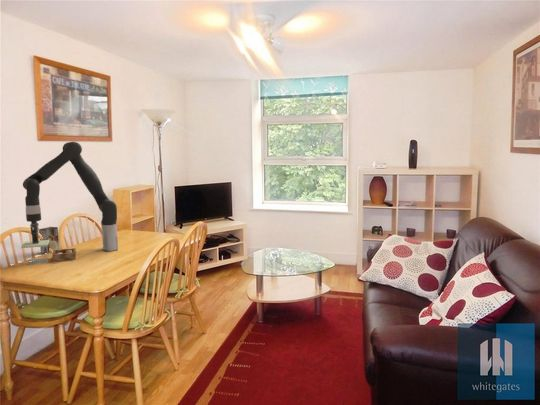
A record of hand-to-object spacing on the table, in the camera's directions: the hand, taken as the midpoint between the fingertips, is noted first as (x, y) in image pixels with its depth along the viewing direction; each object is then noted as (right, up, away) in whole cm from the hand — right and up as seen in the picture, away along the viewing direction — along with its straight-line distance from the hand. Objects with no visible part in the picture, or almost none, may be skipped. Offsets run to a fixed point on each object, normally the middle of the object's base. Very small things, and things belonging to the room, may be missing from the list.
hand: (35, 241), depth 236 cm
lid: (0, -2, 0) cm, 2 cm away
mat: (0, -12, +2) cm, 13 cm away
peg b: (+12, -11, +5) cm, 17 cm away
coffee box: (-5, -10, +25) cm, 27 cm away
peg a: (+15, -11, +10) cm, 21 cm away
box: (+13, -12, +8) cm, 19 cm away
